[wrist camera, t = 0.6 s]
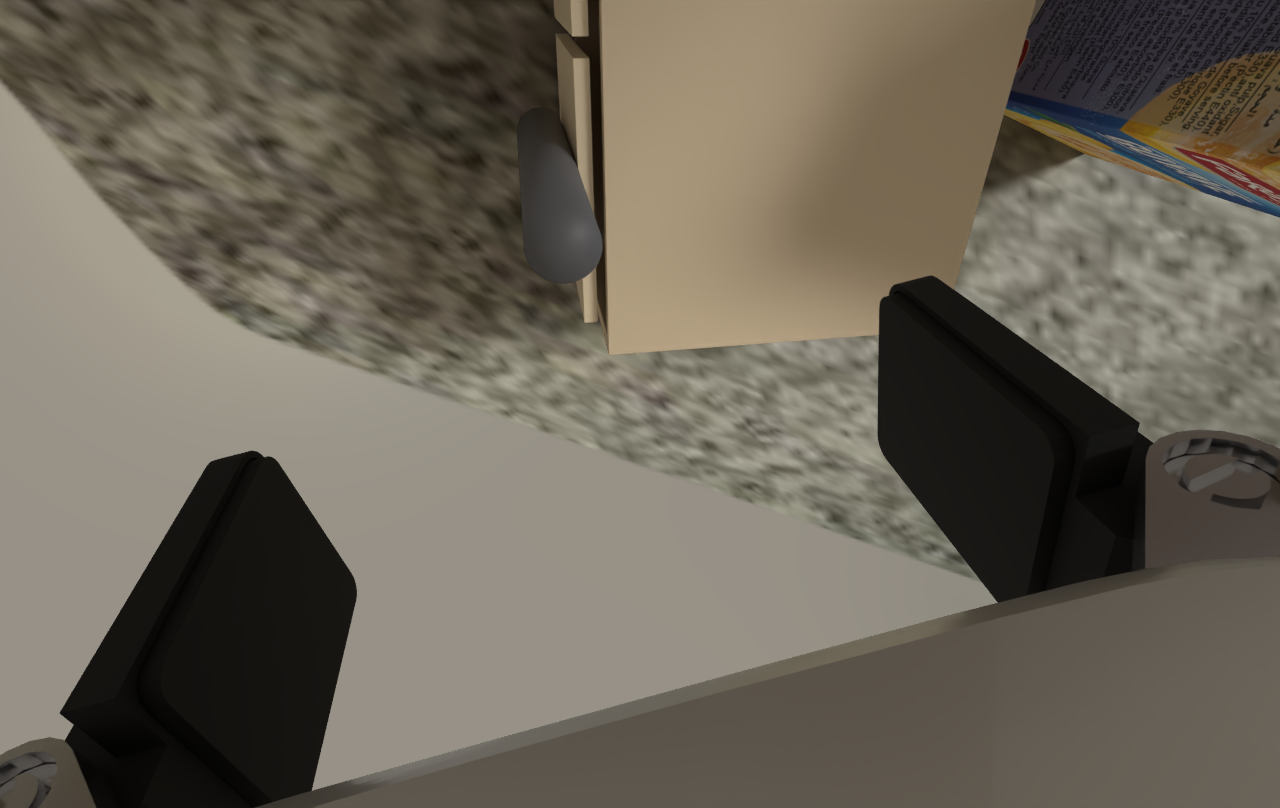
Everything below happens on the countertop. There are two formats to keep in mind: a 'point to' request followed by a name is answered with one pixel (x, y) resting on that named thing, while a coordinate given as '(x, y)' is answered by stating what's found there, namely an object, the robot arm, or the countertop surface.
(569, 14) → the flap
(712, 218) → the wooden cabinet
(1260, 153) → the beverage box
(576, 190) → the flap
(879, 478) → the countertop surface
